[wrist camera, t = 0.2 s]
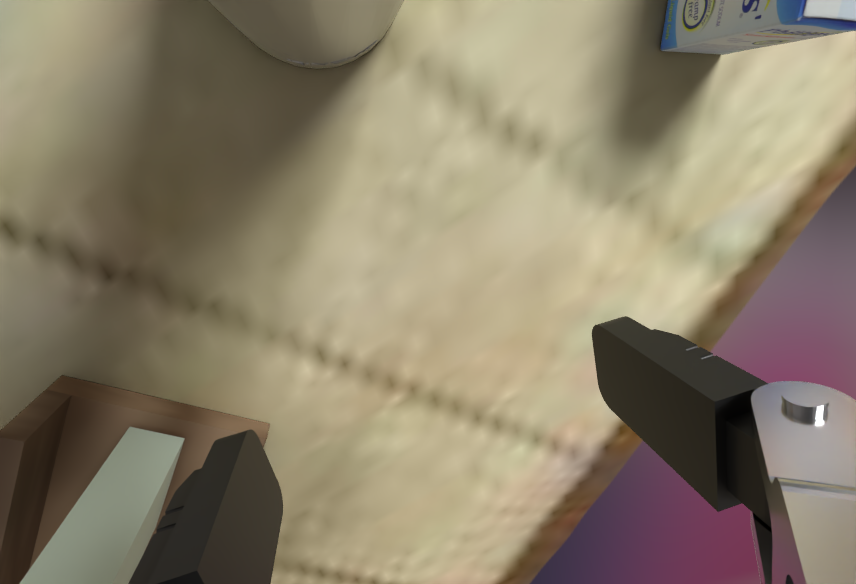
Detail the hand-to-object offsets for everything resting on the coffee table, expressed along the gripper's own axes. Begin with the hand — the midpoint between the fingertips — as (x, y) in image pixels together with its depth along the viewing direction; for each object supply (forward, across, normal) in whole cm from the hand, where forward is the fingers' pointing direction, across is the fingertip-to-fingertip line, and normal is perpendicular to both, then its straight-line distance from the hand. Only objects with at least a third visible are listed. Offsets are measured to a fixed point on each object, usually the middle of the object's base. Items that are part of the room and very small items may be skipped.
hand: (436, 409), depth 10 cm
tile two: (+16, +18, +9) cm, 26 cm away
